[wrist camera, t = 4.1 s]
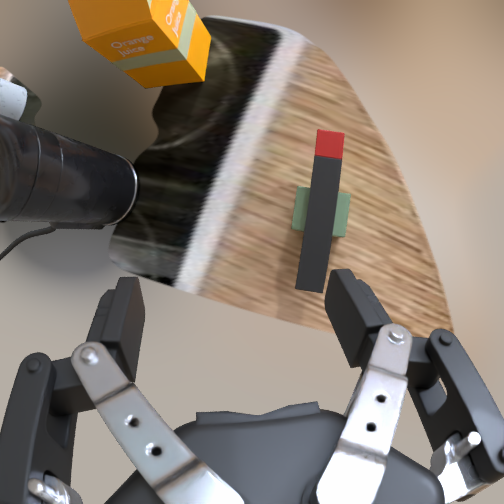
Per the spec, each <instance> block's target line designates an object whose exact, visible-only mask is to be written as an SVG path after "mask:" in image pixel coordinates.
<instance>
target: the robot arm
mask: <svg viewBox="0 0 504 504" xmlns="http://www.w3.org/2000/svg"><path fill="white" fill-rule="evenodd" d="M138 195H139V176H138V173H137V170H136V168H135V166H134V165H133V164H132V163H131V162H130V161H129V160H128V159H126V158H124V157H122V156H119V155H115V154H112V153H109V152H107V151H103V150H101V149H98V148H96V147H93V146H90V145H87V144H85V143H82V142H79V141H76V140H74V139H71V138H68V137H65V136H62V135H59V134H57V133H53V132H51V131H48V130H45V129H42V128H39V127H36V126H33V125H30V124H27V123H24V122H21V121H18V120H15V119H12V118H10V117H7V116H4V115H1V114H0V221H38V222H39V221H41V222H49V223H50V225H51V226H50V227H47V228H44V229H39V230H35V231H31V232H28V233H26V234H24V235H22V236H21V237H19V238H18V239H16V240H15V241H14V242H13V243H12V244H10V245H9V247H7V248H6V249H5V251H3V252H2V253H1V254H0V260H1V259H2V258H3V257H4V256H6V255H7V254H8V253H9V252H10V251H11V250H12V249H13V248H14V247H15V246H17V245H18V244H19V243H20V242H22V241H24V240H26V239H28V238H30V237H34V236H38V235H43V234H48V233H51V232H53V231H55V230H56V229H102V228H103V227H104V226H106V225H115V224H118V223H120V222H121V221H123V220H124V219H125V218H126V217H127V216H128V215H129V214H130V213H131V212H132V210H133V208H134V206H135V204H136V202H137V199H138ZM325 310H326V313H327V315H328V317H329V319H330V322H331V324H332V326H333V328H334V331H335V333H336V335H337V337H338V340H339V342H340V344H341V347H342V349H343V351H344V354H345V356H346V358H347V361H348V363H349V365H350V368H354V367H361V369H362V372H361V374H360V377H359V379H358V382H357V384H356V387H355V389H354V392H353V394H352V397H351V399H350V402H349V404H348V406H347V409H346V411H345V413H344V415H341V414H339V413H336V412H333V411H329V410H323V409H320V408H319V405H318V402H317V401H316V402H310V403H302V404H296V405H288V406H286V407H283V408H280V409H277V410H275V411H272V412H269V413H266V414H263V415H250V414H242V413H236V412H229V411H220V412H196V421H192V422H189V423H187V424H184V425H182V426H180V427H178V428H176V429H175V430H172V429H171V428H170V427H169V426H168V425H167V424H166V422H165V421H164V420H163V419H162V418H161V416H160V415H159V414H158V413H157V412H156V410H155V409H154V408H153V407H152V406H151V404H150V403H149V402H148V401H147V399H146V398H145V397H144V395H143V394H142V393H141V392H140V390H139V389H138V388H137V387H136V385H135V384H134V383H130V382H135V378H136V371H137V364H138V358H139V351H140V345H141V338H142V333H143V327H144V322H145V307H144V302H143V297H142V293H141V288H140V283H139V279H138V277H120V278H119V280H118V283H117V286H116V289H113V290H108V291H107V292H106V293H105V294H104V295H103V296H102V297H101V299H100V301H99V304H98V309H97V310H96V313H95V316H94V318H93V322H92V324H91V327H90V330H89V333H88V336H87V339H86V342H85V343H83V344H81V345H79V346H78V347H77V348H76V349H75V350H74V351H73V353H72V356H71V357H68V358H64V359H60V360H55V361H51V360H50V358H49V357H48V356H47V355H46V354H44V353H40V352H37V353H33V354H30V355H28V356H27V357H26V358H25V359H24V360H23V361H22V362H21V364H20V366H19V369H18V373H17V375H16V378H15V381H14V385H13V388H12V391H11V394H10V398H9V401H8V405H7V408H6V412H5V416H4V420H3V424H2V428H1V432H0V504H83V502H82V499H81V497H80V495H79V494H78V493H77V492H76V491H75V490H74V489H72V488H71V487H70V484H71V469H72V457H73V446H74V438H75V429H76V422H77V415H78V412H83V411H88V410H93V409H97V410H98V412H99V414H100V416H101V417H102V419H103V420H104V422H105V424H106V425H107V427H108V428H109V430H110V431H111V433H112V434H113V436H114V437H115V439H116V440H117V442H118V443H119V445H120V446H121V447H122V449H123V450H124V452H125V453H126V455H127V456H128V457H129V459H130V460H131V461H132V463H133V464H134V465H135V467H136V468H137V469H136V471H135V472H134V473H133V474H132V475H131V476H130V477H129V478H128V479H127V480H126V481H125V482H124V483H123V485H121V487H120V488H119V489H118V490H117V491H116V492H115V493H114V494H113V495H112V496H111V497H110V498H109V499H108V500H107V501H106V502H105V503H104V504H449V503H452V502H454V501H458V502H461V501H465V500H467V499H469V498H471V497H472V496H474V495H476V494H477V493H479V492H481V491H482V490H484V489H486V488H487V487H489V486H491V485H492V484H494V483H495V482H497V481H498V480H500V479H501V478H503V477H504V419H503V417H502V415H501V413H500V411H499V409H498V407H497V405H496V403H495V402H494V400H493V398H492V396H491V394H490V392H489V391H488V389H487V387H486V385H485V383H484V382H483V380H482V378H481V376H480V375H479V373H478V371H477V370H476V368H475V366H474V365H473V363H472V361H471V360H470V358H469V356H468V355H467V353H466V352H465V350H464V348H463V347H462V345H461V343H460V342H459V340H458V339H457V337H456V336H455V335H454V334H453V333H451V332H450V331H448V330H445V329H436V330H434V331H432V333H431V334H430V336H429V338H422V337H413V336H412V335H411V333H410V332H409V331H408V330H407V329H406V328H404V327H403V326H401V325H398V324H393V322H392V321H391V319H390V318H389V316H388V314H387V313H386V311H385V310H384V308H383V306H382V305H381V303H380V302H379V300H378V299H377V297H376V296H375V294H374V292H373V291H372V289H371V288H370V286H369V285H367V284H366V283H365V282H363V281H362V280H361V279H358V280H357V279H356V278H355V276H354V275H353V273H352V271H351V270H350V269H334V270H332V271H331V273H330V277H329V281H328V286H327V290H326V295H325ZM439 378H441V380H442V381H443V383H444V385H445V387H446V390H447V396H446V394H445V392H444V389H443V387H442V385H441V384H440V382H439ZM407 388H408V391H409V393H410V395H411V398H412V400H413V402H414V405H415V407H416V409H417V412H418V414H419V417H420V419H421V421H422V424H423V426H424V429H425V431H426V434H427V436H428V439H429V442H430V444H431V447H432V449H433V452H434V453H433V454H432V457H431V467H430V470H428V469H427V468H425V467H423V466H422V465H420V464H418V463H417V462H415V461H413V460H412V459H410V458H409V457H407V456H405V455H404V454H402V453H401V452H399V451H397V450H396V449H394V448H393V447H391V443H392V440H393V437H394V433H395V430H396V427H397V423H398V419H399V416H400V412H401V409H402V405H403V401H404V397H405V393H406V389H407Z"/></svg>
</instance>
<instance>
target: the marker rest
mask: <svg viewBox="0 0 504 504" xmlns="http://www.w3.org/2000/svg"><path fill="white" fill-rule="evenodd" d="M309 194H310V188H307V187H300V186H297V192H296V200H295V207H294V214H293V220H292V227H291V229H294V230H297V231H304V229H305V223H306V216H307V209H308V202H309ZM350 196H351V194H346V193H340V192H338V199H337V206H336V214H335V221H334V228H333V235H332V236H335V237H345V233H346V226H347V219H348V212H349V204H350Z"/></svg>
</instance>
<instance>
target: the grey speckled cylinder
mask: <svg viewBox="0 0 504 504" xmlns="http://www.w3.org/2000/svg"><path fill="white" fill-rule="evenodd" d="M26 100H27V92H26V89H25V88H24V87H20V86H18V85H15V84H13V83H11V82H8V81H6V80H3V79H1V78H0V114H1V115H4V116H7V117H10V118H12V119H15V120H18V121H19V119H20V117H21V115H22V113H23V111H24V108H25V105H26Z"/></svg>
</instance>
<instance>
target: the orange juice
mask: <svg viewBox="0 0 504 504" xmlns="http://www.w3.org/2000/svg"><path fill="white" fill-rule="evenodd" d="M68 2H69V5H70V7H71V10H72V13H73V16H74V18H75V21H76V24H77V26H78V29H79V31H80V34H81V36H82V41H84V42H85V43H86V44H88V45H89V46H90V47H92V48H93V49H94V50H96V51H97V52H99V53H100V54H101V55H103V56H104V57H105V58H107V59H108V60H109V61H111V63H112V64H114V65H115V66H116V67H118V68H119V69H120V70H122V71H124V72H125V73H126V74H128V75H129V76H130V77H132V78H133V79H134V80H135V81H137V82H138V83H139V84H140V85H142V86H143V87H144V88H153V87H160V86H167V85H175V84H183V83H193V82H204V78H205V71H206V65H207V59H208V53H209V47H210V41H211V36H210V34H209V33H208V31H207V30H206V28H205V26H204V25H203V23H202V21H201V20H200V18H199V16H198V15H197V12H196V11H195V9H194V8H193V6H192V4H191V3H190V1H188V0H68Z"/></svg>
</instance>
